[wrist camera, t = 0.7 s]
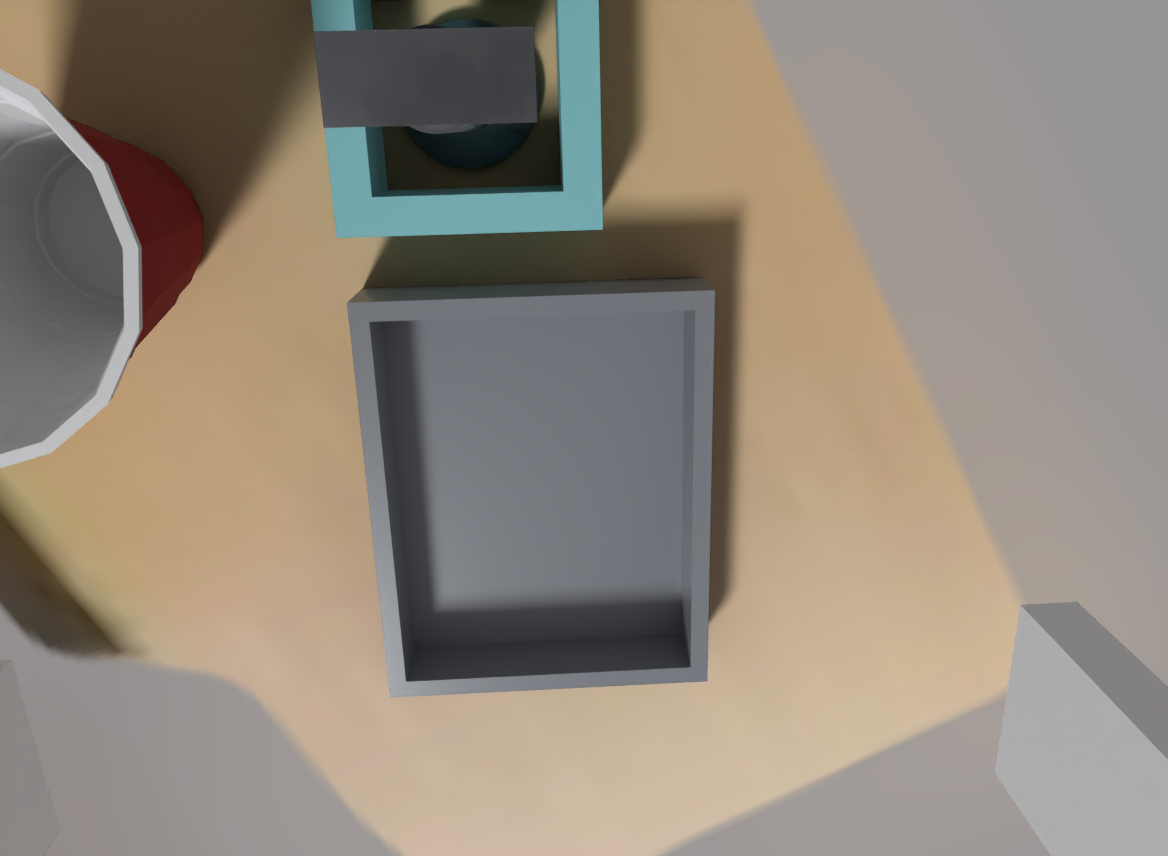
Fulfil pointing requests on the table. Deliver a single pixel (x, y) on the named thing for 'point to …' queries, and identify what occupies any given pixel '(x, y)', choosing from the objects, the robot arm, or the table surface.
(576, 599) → the tray
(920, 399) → the table surface
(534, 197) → the tabbed collar
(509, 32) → the t stake
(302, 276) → the table surface
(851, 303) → the table surface
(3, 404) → the plastic cup
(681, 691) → the table surface
